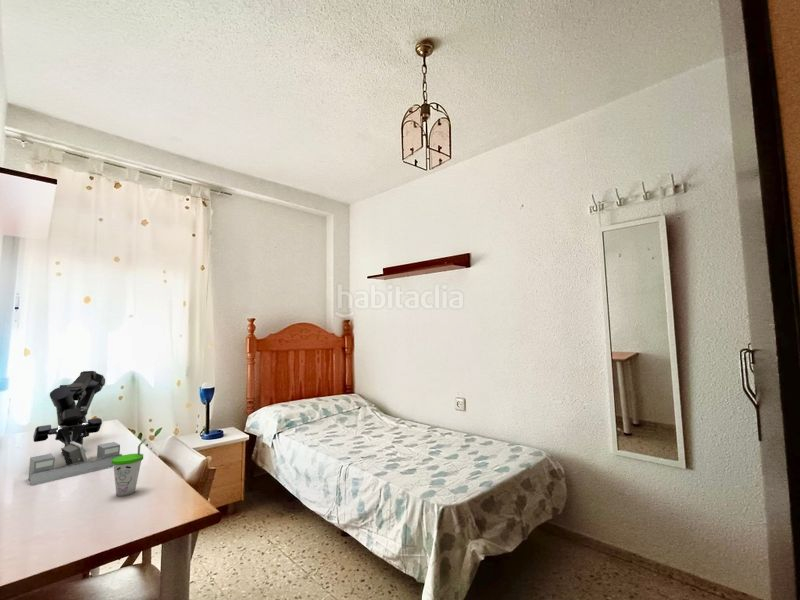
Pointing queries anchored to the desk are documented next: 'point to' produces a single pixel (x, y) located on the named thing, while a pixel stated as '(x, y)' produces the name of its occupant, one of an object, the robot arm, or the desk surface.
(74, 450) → the electrical switch
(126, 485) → the cup
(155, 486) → the desk surface
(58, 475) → the rail
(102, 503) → the desk surface
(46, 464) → the mounted modules
